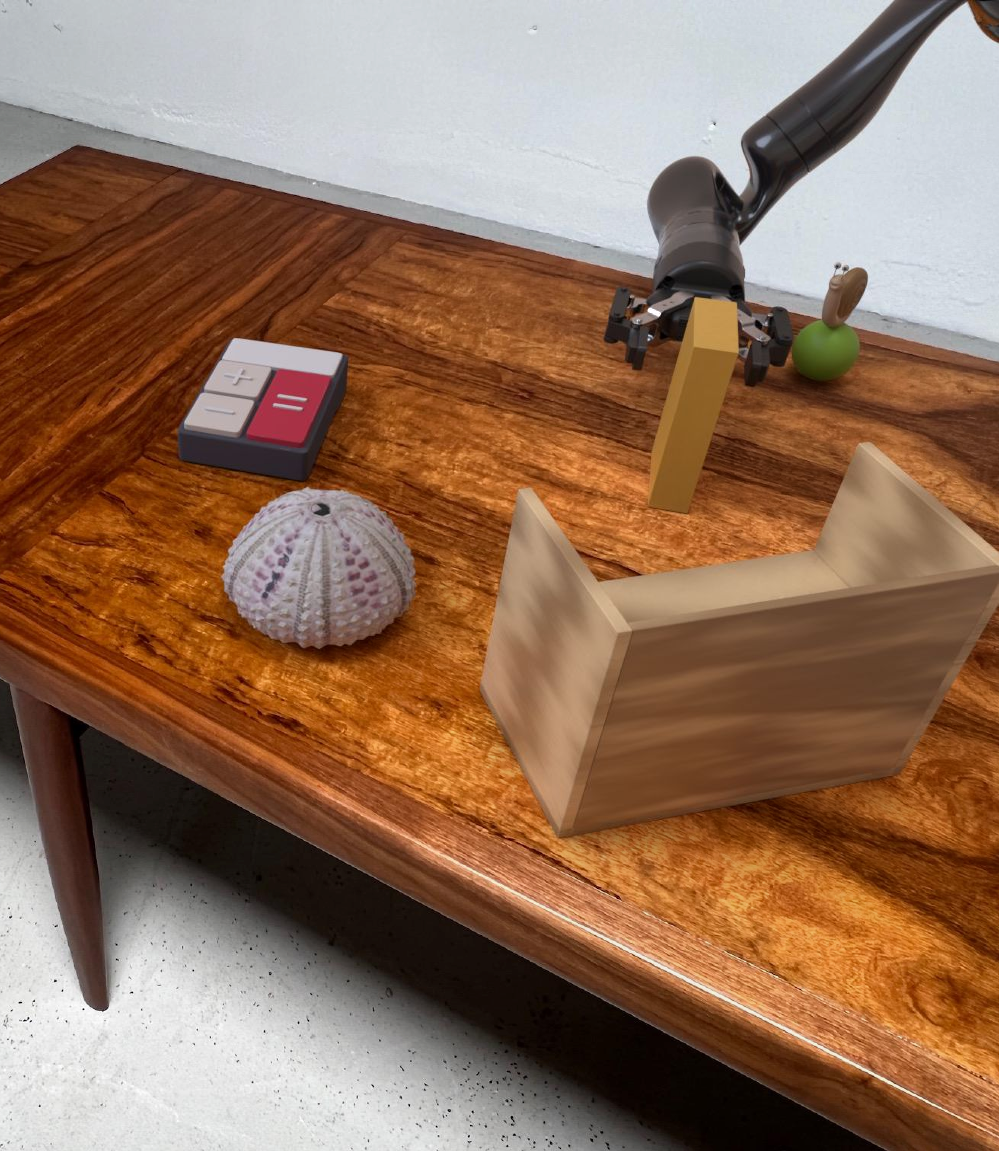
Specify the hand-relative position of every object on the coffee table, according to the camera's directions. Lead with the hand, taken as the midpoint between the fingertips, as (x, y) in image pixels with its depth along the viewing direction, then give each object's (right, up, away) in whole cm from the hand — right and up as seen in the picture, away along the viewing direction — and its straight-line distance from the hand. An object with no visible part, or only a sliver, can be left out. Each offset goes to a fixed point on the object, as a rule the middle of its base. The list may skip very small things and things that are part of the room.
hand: (695, 368), depth 88 cm
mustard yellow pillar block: (-1, -9, +2) cm, 9 cm away
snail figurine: (+17, +2, +14) cm, 22 cm away
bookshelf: (-8, -26, -18) cm, 33 cm away
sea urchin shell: (-30, -18, -8) cm, 36 cm away
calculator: (-33, -3, +9) cm, 35 cm away
